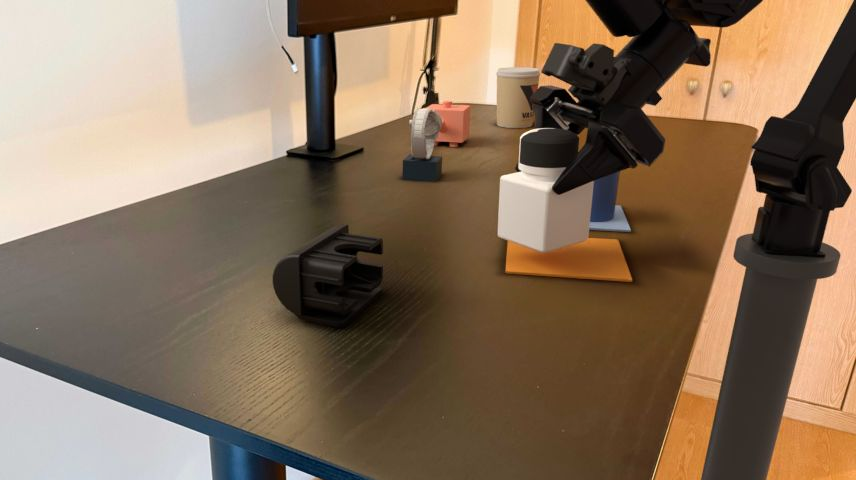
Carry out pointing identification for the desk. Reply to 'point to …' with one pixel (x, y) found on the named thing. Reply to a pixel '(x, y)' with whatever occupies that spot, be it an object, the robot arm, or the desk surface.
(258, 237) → the desk surface
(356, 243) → the end cap
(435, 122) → the watch
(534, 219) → the medicine bottle
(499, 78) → the coffee cup
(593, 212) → the blue cylinder
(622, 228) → the blue mat
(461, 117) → the pink cube teapot
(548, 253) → the amber mat
